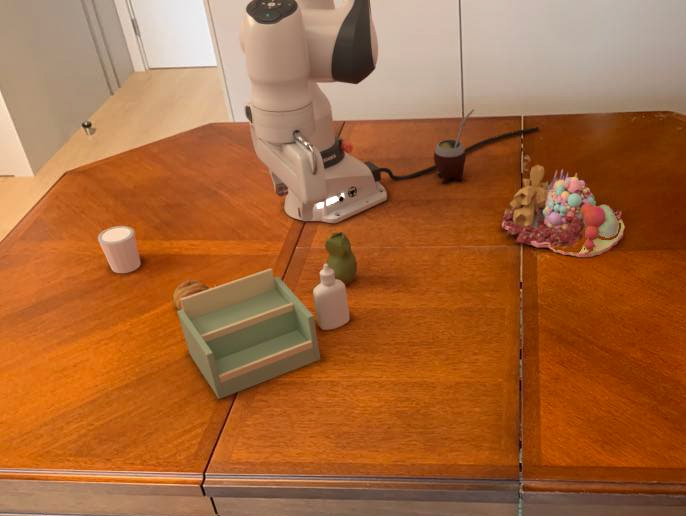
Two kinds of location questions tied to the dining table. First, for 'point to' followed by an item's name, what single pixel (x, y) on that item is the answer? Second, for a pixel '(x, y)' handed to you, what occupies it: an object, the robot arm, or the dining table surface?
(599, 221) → the pastel sphere sculpture
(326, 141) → the robot arm
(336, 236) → the pear
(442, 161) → the mate gourd
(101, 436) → the dining table surface
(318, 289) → the eye dropper bottle
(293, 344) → the spice rack
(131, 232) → the white short cylinder
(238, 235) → the dining table surface
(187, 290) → the pastry
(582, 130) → the dining table surface
